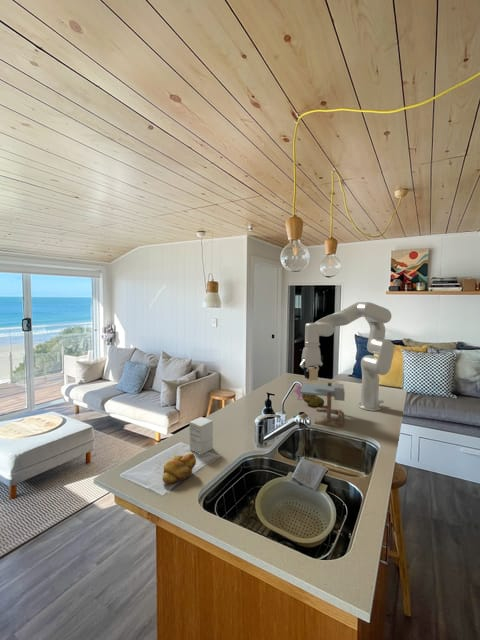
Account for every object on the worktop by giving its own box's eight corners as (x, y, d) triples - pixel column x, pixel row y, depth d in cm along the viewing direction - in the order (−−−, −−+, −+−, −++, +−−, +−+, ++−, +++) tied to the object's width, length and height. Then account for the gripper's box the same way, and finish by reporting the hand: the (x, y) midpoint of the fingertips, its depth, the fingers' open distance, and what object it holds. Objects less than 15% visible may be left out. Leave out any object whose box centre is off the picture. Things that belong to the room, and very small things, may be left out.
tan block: (312, 377, 174) (312, 367, 174) (317, 379, 170) (317, 369, 169) (304, 378, 172) (305, 367, 172) (310, 380, 168) (310, 369, 167)
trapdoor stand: (341, 411, 178) (342, 383, 177) (342, 426, 157) (343, 394, 156) (316, 409, 182) (317, 381, 181) (314, 423, 161) (315, 391, 160)
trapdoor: (343, 391, 174) (343, 384, 174) (344, 400, 159) (344, 392, 159) (302, 388, 181) (303, 381, 180) (300, 396, 165) (300, 388, 165)
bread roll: (170, 490, 105) (170, 468, 105) (154, 479, 111) (153, 458, 111) (198, 474, 115) (198, 453, 114) (182, 465, 121) (182, 445, 121)
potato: (319, 409, 182) (319, 396, 181) (299, 404, 190) (300, 391, 190) (325, 405, 188) (325, 393, 188) (306, 401, 197) (306, 388, 196)
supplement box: (201, 443, 139) (201, 416, 138) (213, 448, 134) (213, 420, 133) (189, 449, 133) (188, 421, 132) (201, 455, 128) (200, 426, 127)
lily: (288, 399, 203) (291, 389, 197) (295, 388, 212) (297, 378, 206) (305, 407, 198) (309, 397, 193) (311, 396, 207) (314, 386, 202)
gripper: (320, 343, 176) (319, 374, 178) (294, 345, 170) (294, 377, 171) (328, 345, 169) (327, 377, 171) (302, 347, 163) (302, 380, 164)
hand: (311, 377), depth 171 cm, fingers closed on tan block, 5 cm apart
